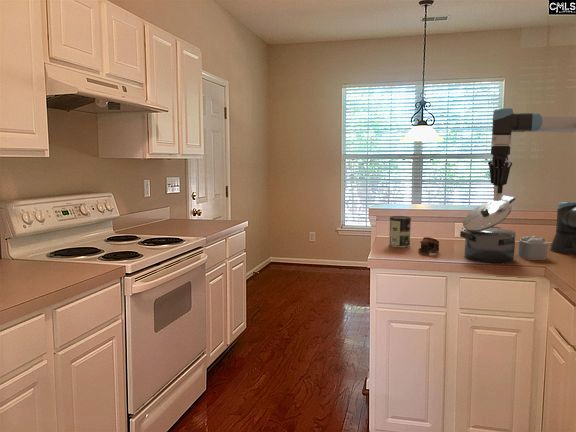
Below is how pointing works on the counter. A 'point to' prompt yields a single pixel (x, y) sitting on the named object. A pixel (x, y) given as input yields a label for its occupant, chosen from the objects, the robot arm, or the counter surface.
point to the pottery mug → (429, 245)
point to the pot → (489, 245)
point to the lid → (488, 214)
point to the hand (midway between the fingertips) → (497, 200)
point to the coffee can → (399, 231)
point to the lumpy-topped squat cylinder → (533, 248)
